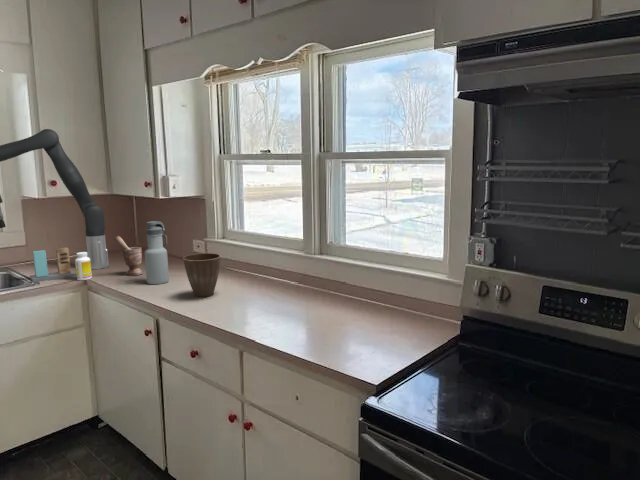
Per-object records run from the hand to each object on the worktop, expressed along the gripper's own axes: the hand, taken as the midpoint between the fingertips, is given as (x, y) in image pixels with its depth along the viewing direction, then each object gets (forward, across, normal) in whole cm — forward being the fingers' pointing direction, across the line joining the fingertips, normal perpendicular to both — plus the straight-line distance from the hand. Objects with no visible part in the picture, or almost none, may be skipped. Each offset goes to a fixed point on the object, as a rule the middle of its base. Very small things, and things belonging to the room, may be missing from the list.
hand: (2, 227), depth 244 cm
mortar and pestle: (+37, -22, -47) cm, 64 cm away
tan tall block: (+28, -6, -19) cm, 35 cm away
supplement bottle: (+33, -18, -26) cm, 46 cm away
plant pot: (+46, -78, -67) cm, 113 cm away
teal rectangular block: (+26, -7, -9) cm, 29 cm away
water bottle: (+41, -45, -55) cm, 82 cm away
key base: (+29, -6, -14) cm, 33 cm away
